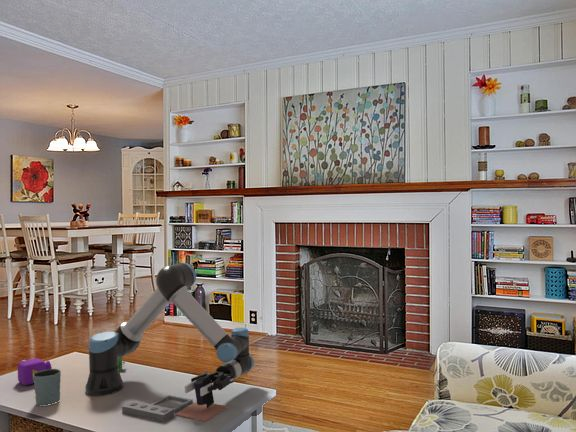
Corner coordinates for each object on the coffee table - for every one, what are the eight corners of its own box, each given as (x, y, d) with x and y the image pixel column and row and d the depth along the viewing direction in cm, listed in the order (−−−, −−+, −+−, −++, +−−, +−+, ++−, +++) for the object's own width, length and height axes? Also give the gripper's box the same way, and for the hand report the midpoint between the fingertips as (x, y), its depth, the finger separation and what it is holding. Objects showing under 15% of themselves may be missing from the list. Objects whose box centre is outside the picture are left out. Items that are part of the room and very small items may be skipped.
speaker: (218, 402, 184) (215, 375, 185) (207, 408, 180) (203, 380, 180) (205, 400, 189) (201, 373, 189) (193, 406, 185) (190, 378, 185)
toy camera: (56, 378, 226) (56, 357, 226) (27, 387, 214) (26, 365, 214) (43, 374, 232) (42, 353, 232) (13, 383, 220) (13, 361, 220)
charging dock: (122, 412, 185) (121, 405, 185) (157, 395, 202) (157, 388, 202) (163, 422, 176) (163, 414, 176) (196, 402, 193) (196, 395, 193)
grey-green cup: (57, 406, 193) (56, 375, 193) (29, 408, 191) (28, 377, 191) (64, 396, 203) (63, 367, 203) (38, 398, 201) (37, 369, 201)
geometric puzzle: (110, 363, 241) (109, 352, 236) (125, 361, 243) (124, 351, 238) (110, 375, 235) (109, 365, 231) (125, 373, 237) (124, 363, 233)
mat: (175, 415, 182) (175, 413, 182) (198, 401, 194) (198, 400, 194) (206, 421, 175) (206, 420, 175) (227, 407, 188) (227, 406, 188)
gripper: (248, 384, 196) (215, 405, 176) (209, 378, 205) (172, 397, 184) (248, 365, 196) (214, 384, 176) (208, 360, 205) (172, 377, 184)
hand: (193, 390), depth 180 cm, fingers closed on speaker, 6 cm apart
